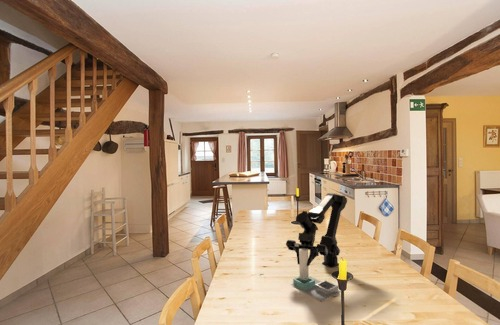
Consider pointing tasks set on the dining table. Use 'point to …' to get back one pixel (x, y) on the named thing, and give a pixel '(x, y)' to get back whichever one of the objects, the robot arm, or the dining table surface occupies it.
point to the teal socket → (301, 285)
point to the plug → (303, 264)
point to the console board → (315, 293)
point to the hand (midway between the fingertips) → (302, 265)
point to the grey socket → (324, 291)
